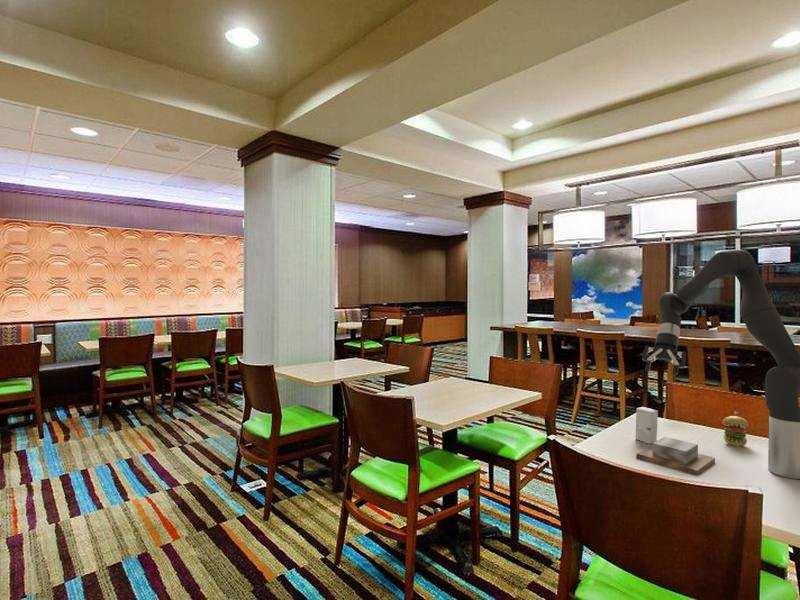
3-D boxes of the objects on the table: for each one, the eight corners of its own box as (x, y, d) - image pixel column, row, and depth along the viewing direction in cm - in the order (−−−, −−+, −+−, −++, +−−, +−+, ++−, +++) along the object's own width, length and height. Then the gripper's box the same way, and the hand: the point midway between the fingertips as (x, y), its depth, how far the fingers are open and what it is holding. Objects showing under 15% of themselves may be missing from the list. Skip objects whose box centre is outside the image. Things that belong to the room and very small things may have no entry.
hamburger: (723, 445, 160) (724, 413, 160) (720, 439, 167) (720, 408, 166) (750, 449, 157) (751, 415, 157) (745, 443, 163) (746, 410, 163)
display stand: (714, 462, 146) (715, 445, 145) (697, 475, 136) (697, 457, 135) (656, 447, 160) (656, 432, 159) (636, 457, 150) (636, 441, 150)
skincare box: (634, 439, 168) (635, 407, 167) (642, 437, 170) (642, 406, 169) (650, 444, 162) (650, 411, 162) (658, 442, 164) (658, 410, 164)
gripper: (647, 329, 177) (639, 364, 170) (689, 334, 168) (683, 372, 162) (647, 338, 182) (640, 373, 175) (688, 344, 174) (682, 381, 167)
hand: (660, 373), depth 168 cm, fingers open, 8 cm apart
